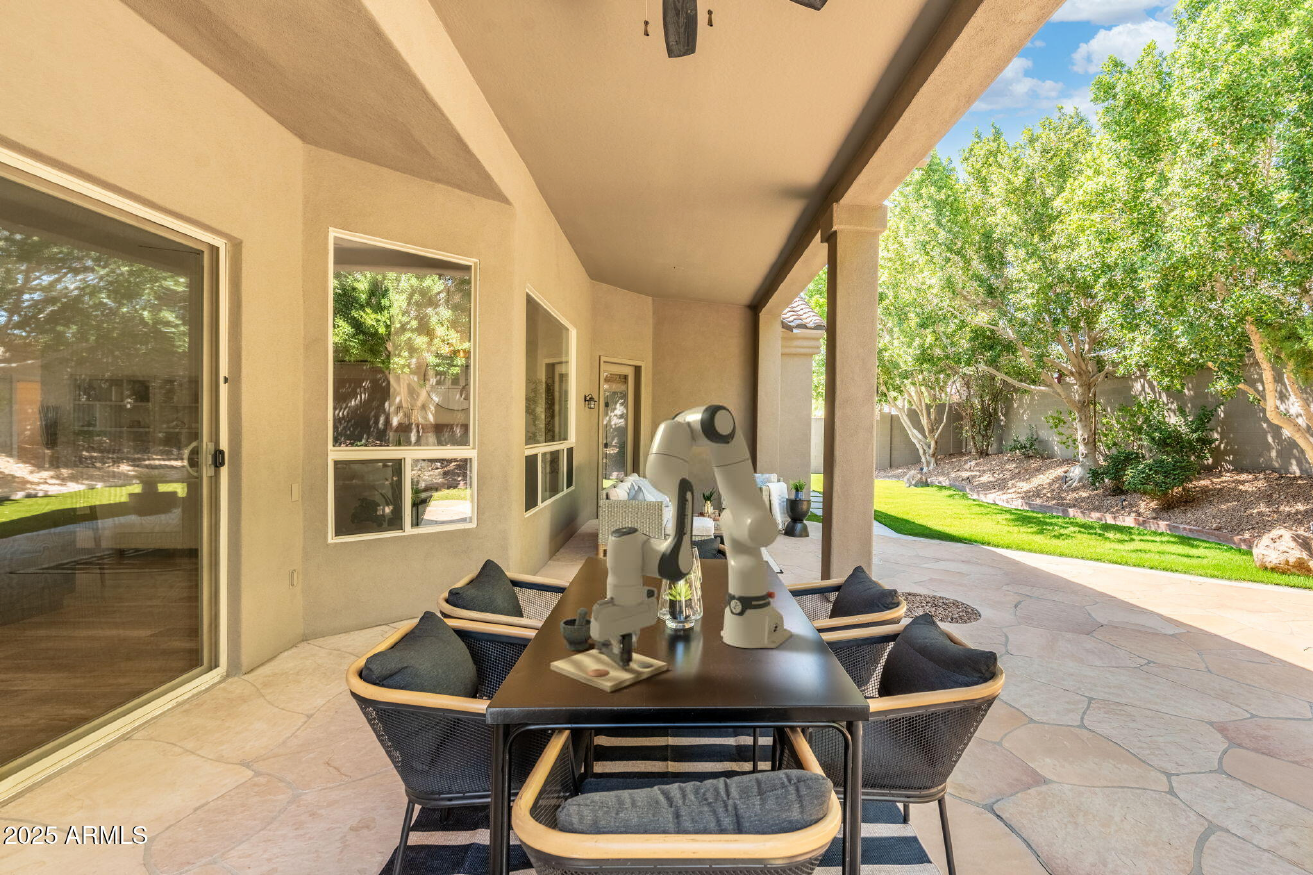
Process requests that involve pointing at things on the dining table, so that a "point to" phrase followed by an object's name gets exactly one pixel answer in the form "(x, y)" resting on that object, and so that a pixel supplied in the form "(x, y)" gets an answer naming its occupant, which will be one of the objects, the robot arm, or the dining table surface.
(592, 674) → the lever board
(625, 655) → the lever
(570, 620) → the mortar and pestle
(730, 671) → the dining table surface
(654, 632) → the dining table surface
